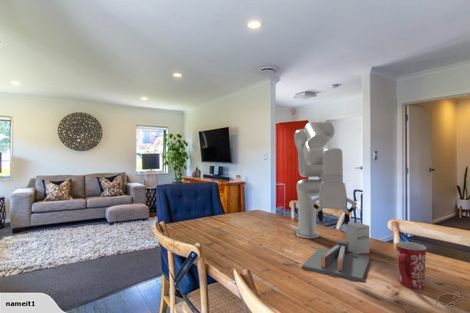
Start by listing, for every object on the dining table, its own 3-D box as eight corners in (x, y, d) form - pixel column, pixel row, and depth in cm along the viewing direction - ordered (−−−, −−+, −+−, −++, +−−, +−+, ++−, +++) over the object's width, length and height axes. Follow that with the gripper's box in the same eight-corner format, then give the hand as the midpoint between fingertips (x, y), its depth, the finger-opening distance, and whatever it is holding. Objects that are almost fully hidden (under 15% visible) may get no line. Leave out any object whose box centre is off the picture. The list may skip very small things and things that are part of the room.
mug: (403, 276, 100) (402, 239, 100) (431, 285, 93) (431, 246, 93) (385, 285, 93) (385, 246, 93) (415, 296, 86) (414, 254, 86)
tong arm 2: (337, 270, 102) (337, 260, 102) (341, 254, 118) (341, 245, 118) (342, 271, 101) (342, 260, 101) (345, 255, 118) (345, 246, 118)
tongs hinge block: (335, 253, 121) (335, 242, 121) (337, 251, 124) (337, 240, 124) (347, 255, 118) (347, 243, 118) (348, 253, 121) (348, 241, 121)
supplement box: (356, 255, 122) (356, 227, 122) (345, 249, 129) (345, 223, 129) (370, 253, 124) (369, 225, 124) (358, 247, 131) (358, 221, 131)
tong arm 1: (320, 267, 106) (320, 256, 106) (336, 253, 120) (336, 244, 120) (324, 268, 105) (324, 257, 105) (340, 254, 119) (340, 245, 119)
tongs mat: (301, 268, 108) (301, 265, 108) (318, 250, 128) (318, 247, 128) (362, 281, 96) (362, 278, 96) (370, 259, 116) (370, 256, 116)
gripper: (308, 179, 109) (309, 222, 109) (354, 180, 99) (355, 227, 99) (313, 178, 115) (314, 218, 115) (357, 179, 106) (358, 223, 106)
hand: (333, 222), depth 107 cm, fingers open, 9 cm apart
